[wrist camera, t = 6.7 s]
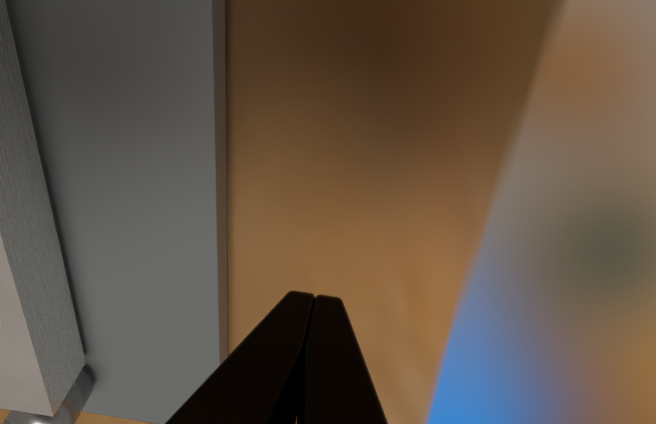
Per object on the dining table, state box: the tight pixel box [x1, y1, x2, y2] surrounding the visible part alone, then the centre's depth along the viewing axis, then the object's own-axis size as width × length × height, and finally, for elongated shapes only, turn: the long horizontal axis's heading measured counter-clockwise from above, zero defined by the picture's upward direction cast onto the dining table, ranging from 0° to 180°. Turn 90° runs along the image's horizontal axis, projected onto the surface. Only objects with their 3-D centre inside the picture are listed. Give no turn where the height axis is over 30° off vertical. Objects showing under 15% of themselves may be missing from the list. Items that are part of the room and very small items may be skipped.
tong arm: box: [0, 0, 94, 424], centre depth 15 cm, size 14×2×2 cm, turn 175°
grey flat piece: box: [5, 0, 228, 424], centre depth 15 cm, size 16×9×3 cm, turn 175°
